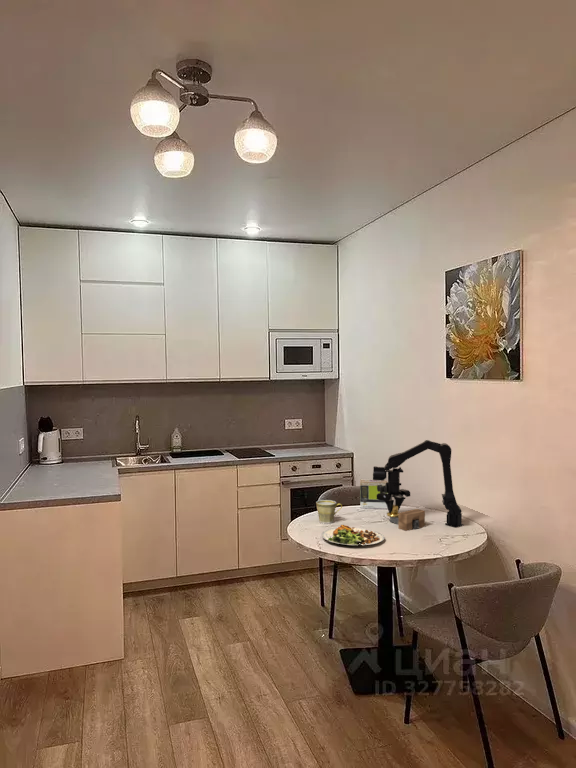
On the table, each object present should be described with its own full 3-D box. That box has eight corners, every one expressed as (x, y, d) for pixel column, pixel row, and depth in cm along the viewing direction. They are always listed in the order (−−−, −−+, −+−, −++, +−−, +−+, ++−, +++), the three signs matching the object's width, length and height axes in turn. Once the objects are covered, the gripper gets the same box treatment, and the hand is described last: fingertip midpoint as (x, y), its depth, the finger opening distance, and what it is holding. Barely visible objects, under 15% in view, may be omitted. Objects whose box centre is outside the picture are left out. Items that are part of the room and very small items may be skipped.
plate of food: (338, 552, 236) (339, 538, 236) (311, 534, 262) (311, 521, 262) (396, 547, 247) (397, 533, 247) (364, 530, 272) (365, 517, 272)
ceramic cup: (316, 525, 277) (316, 504, 277) (315, 519, 287) (315, 499, 287) (343, 524, 278) (343, 504, 278) (340, 519, 288) (340, 499, 288)
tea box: (387, 505, 319) (387, 478, 319) (387, 509, 309) (388, 482, 309) (360, 504, 321) (360, 478, 321) (359, 508, 311) (360, 481, 311)
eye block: (424, 526, 275) (424, 511, 275) (406, 530, 268) (406, 515, 268) (416, 524, 279) (416, 509, 279) (398, 528, 272) (398, 512, 272)
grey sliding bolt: (421, 527, 273) (421, 510, 273) (412, 529, 269) (412, 512, 269) (393, 519, 287) (393, 503, 287) (384, 521, 284) (384, 505, 283)
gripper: (394, 476, 295) (394, 506, 295) (368, 480, 283) (368, 511, 284) (411, 479, 286) (411, 510, 286) (385, 484, 274) (384, 516, 275)
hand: (393, 512), depth 283 cm, fingers closed on grey sliding bolt, 4 cm apart
